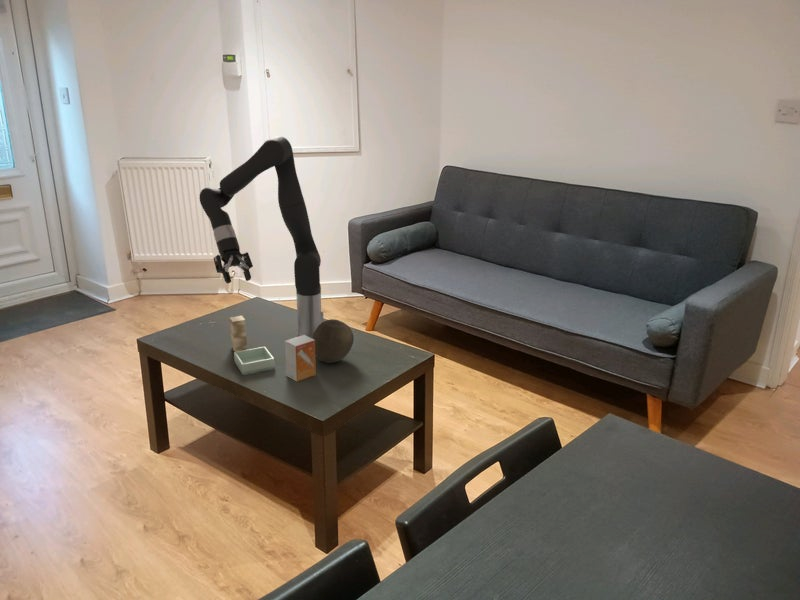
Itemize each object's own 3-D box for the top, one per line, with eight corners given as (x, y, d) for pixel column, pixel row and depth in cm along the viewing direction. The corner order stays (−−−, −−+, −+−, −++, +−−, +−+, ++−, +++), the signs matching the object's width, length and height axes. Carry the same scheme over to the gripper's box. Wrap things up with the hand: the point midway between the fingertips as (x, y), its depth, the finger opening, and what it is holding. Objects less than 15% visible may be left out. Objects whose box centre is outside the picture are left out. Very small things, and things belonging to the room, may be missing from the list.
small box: (296, 382, 221) (295, 346, 216) (285, 375, 225) (284, 340, 221) (316, 374, 226) (315, 339, 222) (305, 368, 231) (304, 334, 226)
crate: (265, 356, 239) (264, 346, 238) (274, 369, 230) (274, 358, 229) (234, 362, 234) (233, 352, 233) (243, 375, 225) (242, 364, 224)
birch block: (244, 345, 248) (241, 315, 244) (247, 350, 244) (245, 319, 240) (232, 347, 246) (229, 317, 242) (235, 352, 242) (232, 321, 238)
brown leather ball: (329, 373, 227) (328, 332, 222) (304, 360, 237) (303, 320, 232) (361, 361, 237) (361, 322, 232) (336, 349, 246) (335, 311, 241)
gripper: (214, 237, 237) (228, 280, 235) (247, 234, 248) (260, 276, 246) (204, 244, 242) (217, 287, 240) (236, 242, 252) (249, 282, 251)
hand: (239, 281), depth 243 cm, fingers open, 8 cm apart
